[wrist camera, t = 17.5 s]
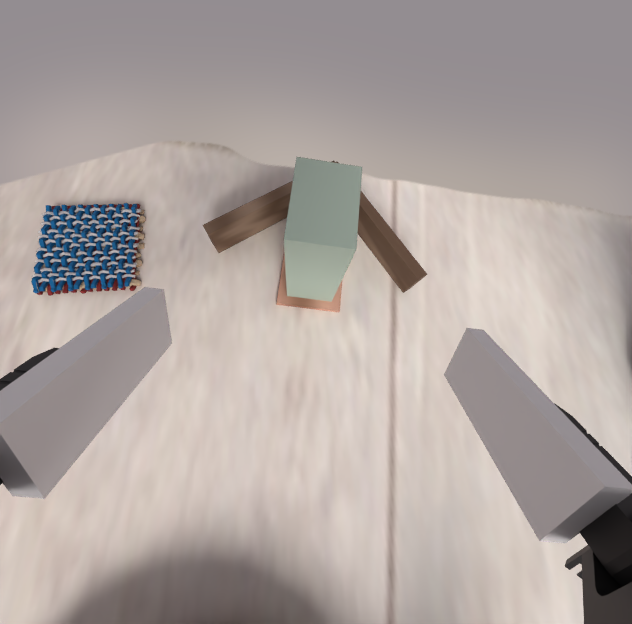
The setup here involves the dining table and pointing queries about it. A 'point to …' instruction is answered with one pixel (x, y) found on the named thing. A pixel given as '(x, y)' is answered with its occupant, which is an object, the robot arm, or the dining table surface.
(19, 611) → the dining table surface
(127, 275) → the woven mat
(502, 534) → the dining table surface
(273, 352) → the dining table surface
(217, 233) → the walnut corner arena
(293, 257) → the sage block
